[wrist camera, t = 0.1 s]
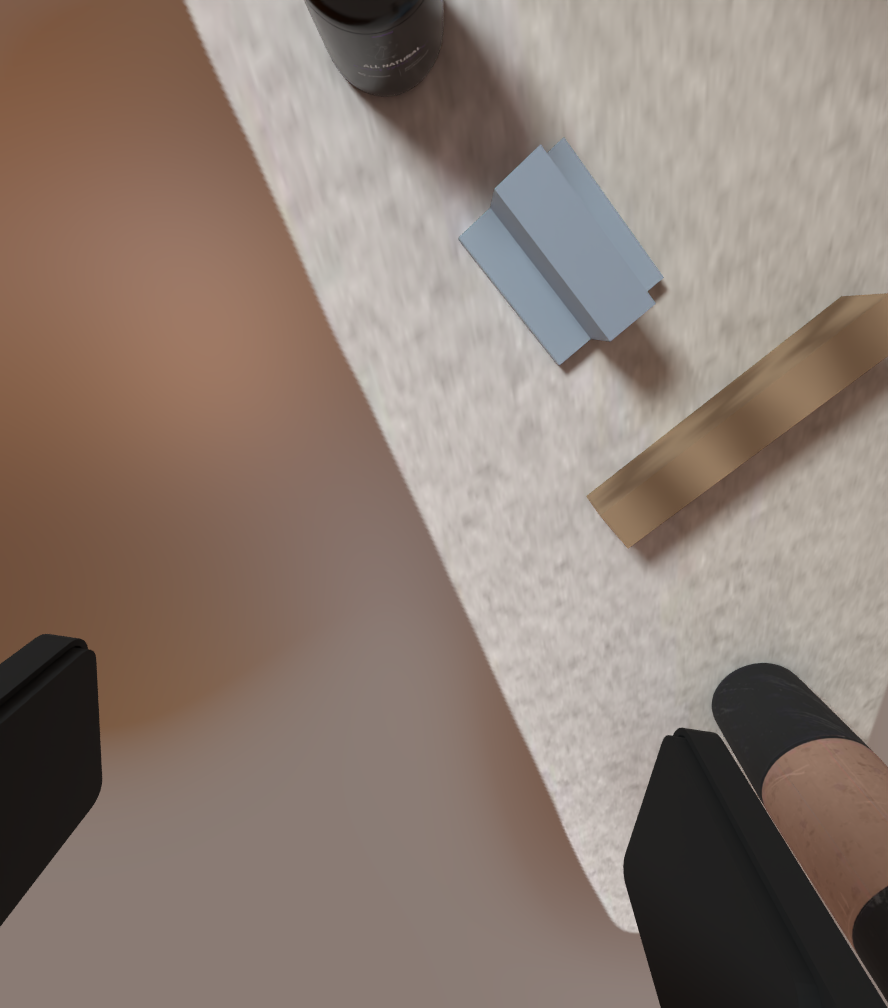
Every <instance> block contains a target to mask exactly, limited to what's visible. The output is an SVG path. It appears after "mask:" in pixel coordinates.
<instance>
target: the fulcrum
mask: <svg viewBox="0 0 888 1008" xmlns="http://www.w3.org/2000/svg"><path fill="white" fill-rule="evenodd" d="M458 239H459V241H460V242H461V244H462V245H463V246H464V247H465V249H466V250H467V251H468V253H469V254H470V255H471V256H472V258H473V259H474V260H475V261H476V263H477V264H478V265H479V266H480V268H481V269H482V270H483V271H484V273H485V274H486V275H487V276H488V278H489V279H490V280H491V282H492V283H493V284H494V285H495V287H496V288H497V289H498V290H499V292H500V293H501V294H502V295H503V297H504V298H505V299H506V300H507V302H508V303H509V304H510V306H511V307H512V308H513V309H514V311H515V312H516V313H517V314H518V316H519V317H520V318H521V319H522V321H523V322H524V323H525V324H526V326H527V327H528V328H529V329H530V331H531V332H532V333H533V335H534V336H535V337H536V338H537V340H538V341H539V342H540V343H541V345H542V346H543V347H544V348H545V350H546V351H547V352H548V353H549V355H550V356H551V357H552V358H553V360H554V361H555V362H556V364H558V365H560V364H562V363H563V362H564V361H565V360H566V359H568V358H569V357H570V356H571V355H572V354H573V353H575V352H576V351H577V350H578V349H579V348H581V347H582V346H583V345H584V344H585V343H587V342H588V341H589V340H590V339H596V340H603V341H611V340H613V339H614V338H615V337H616V336H617V335H619V334H620V333H621V332H622V331H623V330H625V329H626V328H627V327H628V326H629V325H631V324H632V323H633V322H634V321H635V320H637V319H638V318H639V317H640V316H641V315H643V314H644V313H645V312H646V311H647V310H649V309H650V308H651V307H652V306H653V305H655V304H656V303H655V302H654V300H653V299H652V297H651V296H650V295H649V293H648V292H647V291H648V290H649V289H651V288H652V287H653V286H654V285H655V284H657V283H658V282H659V281H660V280H661V279H663V278H664V277H663V276H662V274H661V273H660V271H659V270H658V269H657V267H656V266H655V264H654V263H653V262H652V260H651V259H650V257H649V256H648V255H647V253H646V252H645V250H644V249H643V248H642V246H641V245H640V243H639V242H638V240H637V239H636V238H635V236H634V235H633V233H632V232H631V231H630V229H629V228H628V226H627V225H626V224H625V222H624V221H623V219H622V218H621V217H620V215H619V214H618V212H617V211H616V210H615V208H614V207H613V205H612V204H611V203H610V201H609V200H608V198H607V197H606V196H605V194H604V193H603V191H602V190H601V188H600V187H599V186H598V184H597V183H596V181H595V180H594V179H593V177H592V176H591V174H590V173H589V172H588V170H587V169H586V167H585V166H584V165H583V163H582V162H581V160H580V159H579V158H578V156H577V155H576V153H575V152H574V151H573V149H572V148H571V146H570V145H569V143H568V142H567V141H566V139H565V138H564V137H563V138H562V139H561V140H560V141H559V142H558V143H557V144H556V145H555V146H554V147H553V148H552V149H551V150H550V151H549V152H548V153H547V152H546V151H545V150H544V148H543V147H542V145H541V144H540V145H539V146H538V147H537V148H536V149H535V150H534V151H533V152H532V153H531V154H530V155H529V156H528V157H527V158H526V159H525V160H524V161H523V162H522V163H521V164H520V165H519V166H518V167H516V168H515V169H514V170H513V171H512V172H511V173H510V174H509V175H508V176H507V177H506V178H505V179H504V180H503V181H502V182H501V183H500V184H499V185H498V186H497V187H496V188H495V189H494V193H493V197H492V202H491V206H490V208H489V209H488V210H487V211H486V212H485V213H484V214H483V215H482V216H481V217H480V218H479V219H478V220H477V221H475V222H474V223H473V224H472V225H471V226H470V227H469V228H468V229H467V230H466V231H465V232H464V233H463V234H462V235H461V236H460V237H459V238H458Z"/></svg>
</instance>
